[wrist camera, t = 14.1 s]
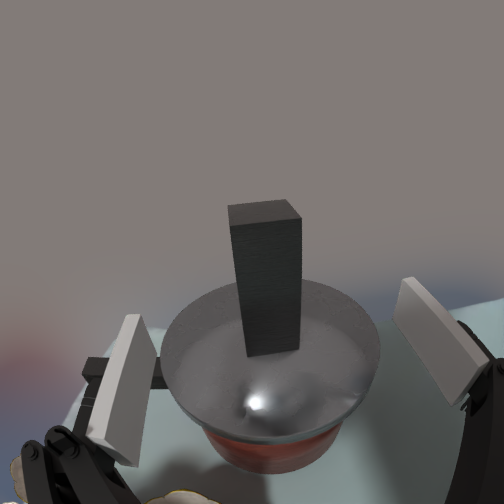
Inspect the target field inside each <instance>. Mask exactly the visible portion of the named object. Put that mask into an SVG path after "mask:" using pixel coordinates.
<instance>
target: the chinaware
mask: <svg viewBox="0 0 504 504" xmlns="http://www.w3.org/2000/svg"><path fill="white" fill-rule="evenodd" d="M20 456H21V454H20ZM20 456H18V457H17V458H15V459H13V461H12V463H11V464H10V471H11V475H12V477H13V479H14V481H15V482H16V483H15V486H14V489H15V492H16V494H17V496H18V497H19V498H20V499H22V500H23V501H24V502H26V503H28V501H27V496H26V490H25V484H24V478H23V470H22V461H21V457H20ZM164 496H165V498H164V497H158V498H153V499H150V500H149V501H147V502H146V503H144V504H221V503H220V502H217V501H215V500H212V499H210V500H209V499H208V498H207V497H205V496H204V495H202V494H200V493H198V492H195V491H191V490H189V489H179V490H174V491H171V492H169V493H168V494H166V495H164ZM3 504H18V503H16V502H10V503H7V502H5V503H3Z"/></svg>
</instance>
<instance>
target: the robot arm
mask: <svg viewBox="0 0 504 504" xmlns="http://www.w3.org/2000/svg"><path fill="white" fill-rule="evenodd" d="M392 320H393V321H394V323H395V324H396V325H397V327H398V328H399V330H400V331H401V332H402V334H403V335H404V336H405V338H406V339H407V341H408V342H409V344H410V345H411V346H412V348H413V349H414V351H415V352H416V354H417V355H418V357H419V358H420V359H421V361H422V362H423V364H424V365H425V367H426V368H427V370H428V371H429V373H430V375H431V376H432V378H433V379H434V381H435V382H436V384H437V385H438V387H439V389H440V390H441V392H442V393H443V395H444V397H445V398H446V400H447V401H448V403H449V405H450V406H453V405H454V404H456V403H458V402H459V401H461V400H462V399H463V398H464V397H465V395H466V394H467V393H469V395H470V397H469V398H468V399H467V400H466V402H465V403H464V404H463V405H462V407H461V409H460V411H462V410H463V409H464V408H465V406H466V405H467V408H466V409H465V411H466V418H465V425H464V431H463V437H462V442H461V447H460V452H459V456H458V461H457V465H456V469H455V472H454V476H453V480H452V483H451V486H450V489H449V492H448V495H447V498H446V501H445V504H504V358H498V359H496V358H495V357H494V356H493V355H492V354H491V353H490V351H489V350H488V349H487V348H486V347H485V345H484V344H483V343H482V342H481V341H480V339H478V337H477V336H476V335H475V334H473V331H472V330H471V329H470V328H469V327H468V326H467V325H466V324H464V323H463V322H461V321H459V320H458V321H456V320H455V319H454V318H453V317H452V316H451V315H450V314H449V313H448V311H447V310H446V309H445V308H444V307H443V306H442V305H441V304H440V303H439V302H438V301H437V300H436V299H435V298H434V297H433V296H432V295H431V294H430V293H429V292H428V291H427V290H426V289H425V288H424V287H423V286H422V285H421V284H420V283H419V282H418V281H417V280H416V279H415V278H414V277H409V278H404V279H402V283H401V287H400V291H399V295H398V299H397V304H396V307H395V311H394V314H393V318H392ZM156 357H157V352H156V350H155V348H154V345H153V343H152V341H151V338H150V336H149V334H148V331H147V329H146V326H145V324H144V321H143V319H142V316H141V314H132V315H126V318H125V320H124V322H123V325H122V327H121V330H120V332H119V335H118V337H117V340H116V343H115V345H114V348H113V351H112V353H111V356H110V359H109V362H108V364H107V367H106V370H105V373H104V376H103V378H93V380H92V381H91V382H90V383H89V385H88V386H87V388H86V391H85V394H84V398H83V399H82V402H81V406H80V408H79V412H78V415H77V418H76V421H75V424H74V428H73V431H72V432H71V431H70V430H69V429H68V428H66V427H64V426H60V425H58V426H54V427H52V428H51V429H50V430H48V432H47V434H46V435H45V440H44V442H45V446H42V445H41V444H40V443H39V442H37V441H35V440H30V441H27V442H26V443H25V444H24V445H23V447H22V450H21V461H22V470H23V478H24V484H25V490H26V496H27V501H28V504H141V503H140V501H139V500H138V499H137V497H136V496H135V495H134V493H133V492H132V491H131V489H130V488H129V487H128V485H127V484H126V482H125V481H124V479H123V478H122V477H121V475H120V474H119V472H118V471H117V469H116V468H115V467H114V463H115V461H117V462H118V463H119V464H121V465H124V466H130V467H137V468H138V466H139V458H140V450H141V442H142V435H143V428H144V422H145V416H146V410H147V404H148V398H149V392H150V387H151V382H152V377H153V372H154V367H155V362H156Z"/></svg>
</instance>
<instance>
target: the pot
mask: <svg viewBox="0 0 504 504" xmlns="http://www.w3.org/2000/svg"><path fill="white" fill-rule="evenodd" d="M109 359H110V358H99V357H88V359H87V361H86V364H85V367H84V369H83V371H82V376H83V377H84V378H85V380H86V381H87V382H88V384H89V383H90V382H91V381H92V380H93V378H103V376H104V373H105V370H106V367H107V364H108V362H109ZM150 389H169V388H168V386H167V384H166V382H165V380H164V377H163V374H162V370H161V363H160V357H156V362H155V367H154V372H153V377H152V382H151V387H150ZM342 422H343V421H341V422H340V423H339V424H337V425H336V426H334V427H332V428H331V429H329V430H327V431H326V432H323V433H321V434H319V435H316V436H314V437H311V438H309V439H305V440H301V441H298V442H294V443H288V444H279V445H253V444H247V443H241V442H236V441H232V440H229V439H226V438H223V437H220V436H218V435H216V434H214V433H212V432H210V431H208V430H206V429H204V428H203V427H202V429H203V430H204V432H205V434H206V436H207V438H208V439H209V441H210V443H211V444H212V446H213V447H214V449H215V450H216V451H217V452H218V453H219V455H220V456H221V457H223V458H224V459H225V460H226V461H228V462H229V463H231V464H233V465H234V466H236V467H238V468H241V469H243V470H246V471H249V472H253V473H259V474H282V473H288V472H292V471H295V470H298V469H301V468H303V467H305V466H307V465H309V464H311V463H313V462H314V461H316V460H317V459H318V458H320V457H321V456H322V455H323V454H324V453H325V452H326V451H327V450H328V449H329V447H330V446H331V445H332V443H333V442H334V440H335V438H336V436H337V434H338V432H339V429H340V427H341V425H342Z"/></svg>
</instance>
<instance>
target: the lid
mask: <svg viewBox="0 0 504 504" xmlns="http://www.w3.org/2000/svg"><path fill="white" fill-rule="evenodd" d="M228 215H229V225H230V234H231V242H232V250H233V258H234V265H235V273H236V281H237V282H236V283H232V284H229V285H226V286H223V287H220V288H218V289H215V290H213V291H211V292H209V293H207V294H205V295H203V296H201V297H200V298H198V299H197V300H195V301H194V302H192V303H191V304H190V305H188V306H187V307H186V308H185V309H184V310H182V311H181V312H180V313H179V314H178V316H177V317H176V318H175V319H174V320H173V322H172V323H171V325H170V326H169V328H168V330H167V332H166V334H165V336H164V339H163V342H162V346H161V353H160V363H161V370H162V374H163V377H164V380H165V382H166V384H167V386H168V388H169V390H170V392H171V394H172V396H173V397H174V399H175V401H176V402H177V404H178V405H179V406H180V408H181V409H182V410H183V412H184V413H185V414H186V415H187V416H189V417H190V418H191V419H192V420H193V421H194V422H195V423H197V424H198V425H200V426H201V427H203V428H204V429H206V430H208V431H210V432H212V433H214V434H216V435H218V436H220V437H223V438H226V439H229V440H232V441H236V442H241V443H247V444H253V445H279V444H288V443H294V442H298V441H301V440H305V439H309V438H311V437H314V436H316V435H319V434H321V433H323V432H326V431H327V430H329V429H331V428H332V427H334V426H336V425H337V424H339V423H340V422H341V421H343V420H344V419H345V418H346V417H348V416H349V415H350V414H351V413H352V412H353V411H354V410H355V409H356V408H357V406H358V405H359V404H360V403H361V402H362V400H363V399H364V397H365V395H366V394H367V392H368V390H369V388H370V386H371V383H372V381H373V378H374V376H375V373H376V370H377V368H378V363H379V358H380V342H379V337H378V333H377V330H376V328H375V325H374V323H373V322H372V320H371V318H370V317H369V316H368V314H367V313H366V312H365V310H364V309H363V308H362V307H361V306H360V305H359V304H358V303H357V302H355V301H354V300H353V299H351V298H350V297H349V296H347V295H345V294H343V293H342V292H340V291H338V290H336V289H333V288H331V287H329V286H326V285H323V284H320V283H317V282H313V281H308V280H303V279H302V218H301V217H300V215H299V214H298V213H297V212H296V211H295V210H294V208H293V207H292V206H291V205H290V204H289V203H288V202H287V200H285V199H284V200H274V201H264V202H255V203H245V204H237V205H228Z"/></svg>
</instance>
